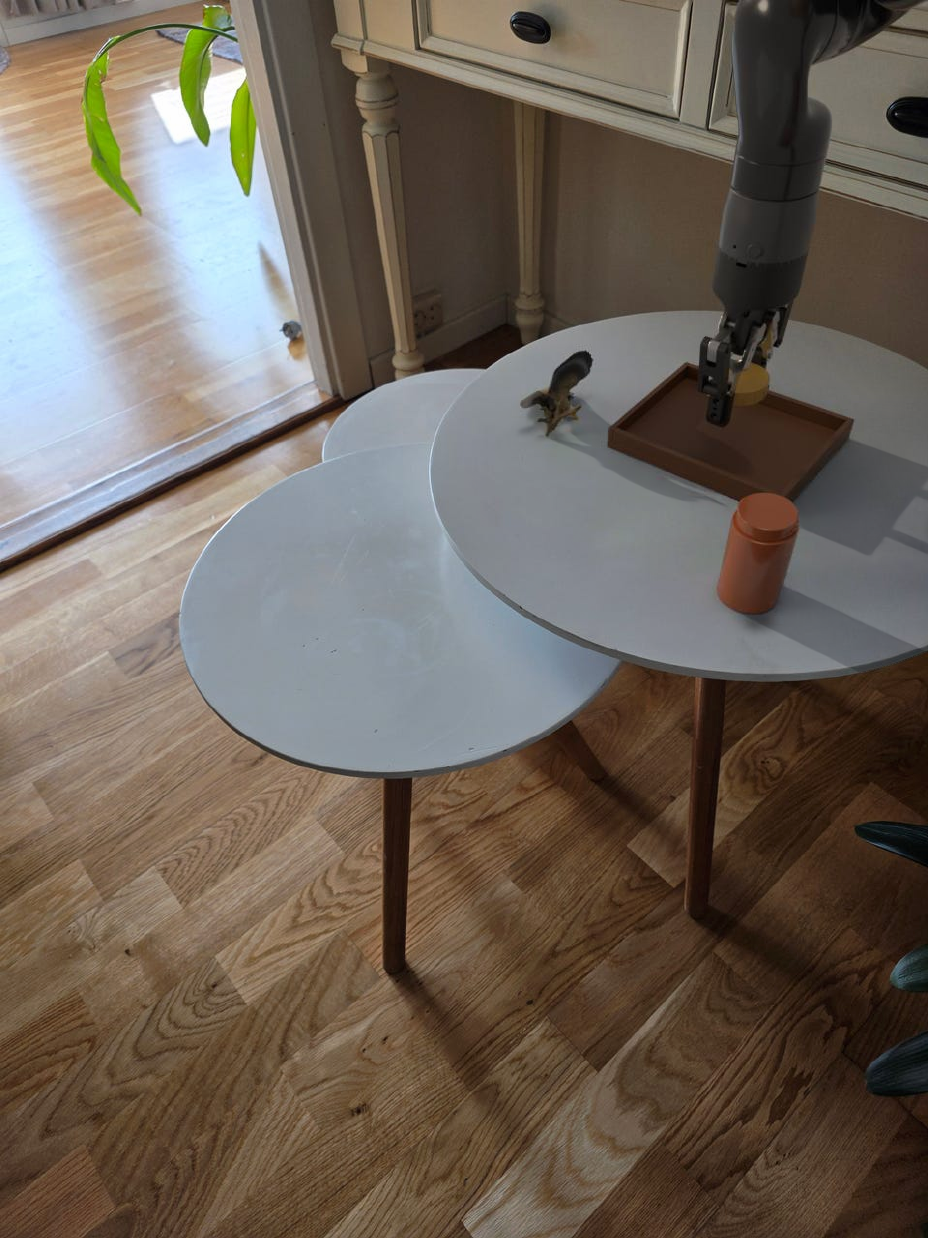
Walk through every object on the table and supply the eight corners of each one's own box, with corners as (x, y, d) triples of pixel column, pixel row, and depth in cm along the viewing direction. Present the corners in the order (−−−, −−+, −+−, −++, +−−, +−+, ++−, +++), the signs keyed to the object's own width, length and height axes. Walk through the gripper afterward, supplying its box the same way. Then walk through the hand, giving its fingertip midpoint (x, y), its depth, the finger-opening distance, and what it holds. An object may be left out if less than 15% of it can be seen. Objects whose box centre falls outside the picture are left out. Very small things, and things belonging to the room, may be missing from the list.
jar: (790, 588, 75) (814, 506, 68) (761, 623, 73) (783, 542, 66) (735, 563, 78) (753, 481, 71) (705, 596, 75) (721, 515, 68)
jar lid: (691, 387, 86) (693, 374, 85) (734, 366, 88) (737, 352, 87) (736, 414, 82) (739, 400, 81) (780, 391, 84) (783, 377, 83)
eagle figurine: (601, 431, 90) (608, 371, 95) (564, 386, 86) (573, 325, 90) (541, 455, 95) (550, 397, 99) (502, 414, 91) (514, 354, 95)
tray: (848, 437, 89) (854, 418, 87) (778, 517, 81) (783, 498, 80) (683, 379, 98) (685, 361, 96) (606, 446, 90) (608, 427, 89)
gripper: (764, 200, 79) (734, 364, 92) (681, 261, 72) (661, 430, 85) (843, 218, 76) (801, 386, 88) (764, 284, 69) (731, 457, 81)
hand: (733, 407), depth 86 cm, fingers closed on jar lid, 5 cm apart
